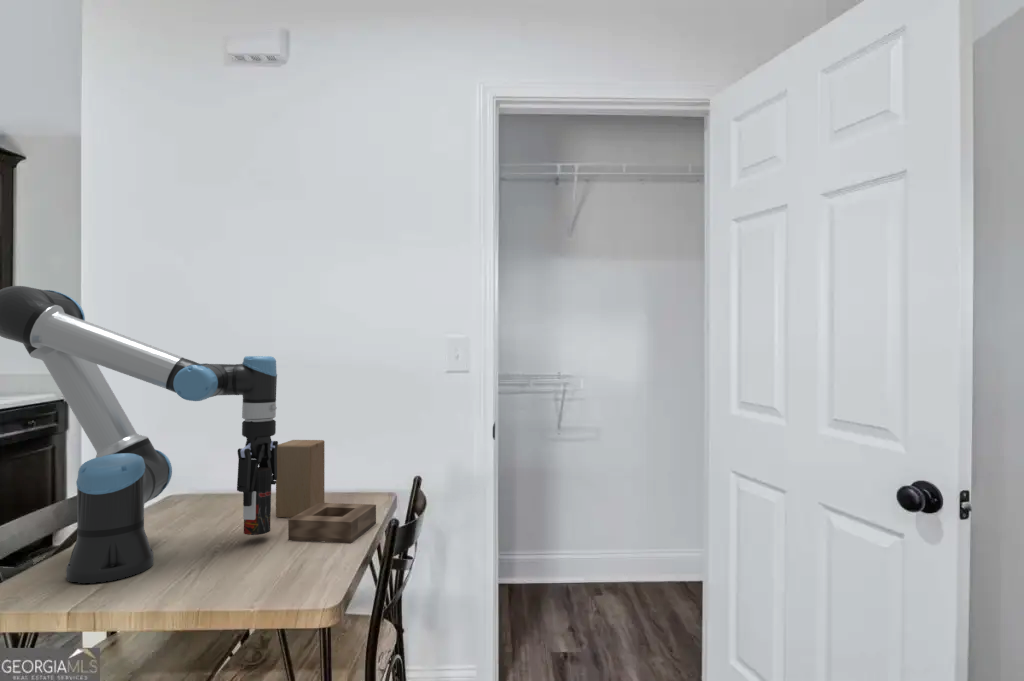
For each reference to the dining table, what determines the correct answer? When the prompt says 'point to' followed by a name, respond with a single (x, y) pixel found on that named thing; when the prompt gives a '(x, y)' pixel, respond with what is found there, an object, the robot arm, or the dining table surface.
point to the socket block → (332, 522)
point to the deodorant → (261, 504)
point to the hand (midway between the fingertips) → (257, 515)
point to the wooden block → (299, 476)
